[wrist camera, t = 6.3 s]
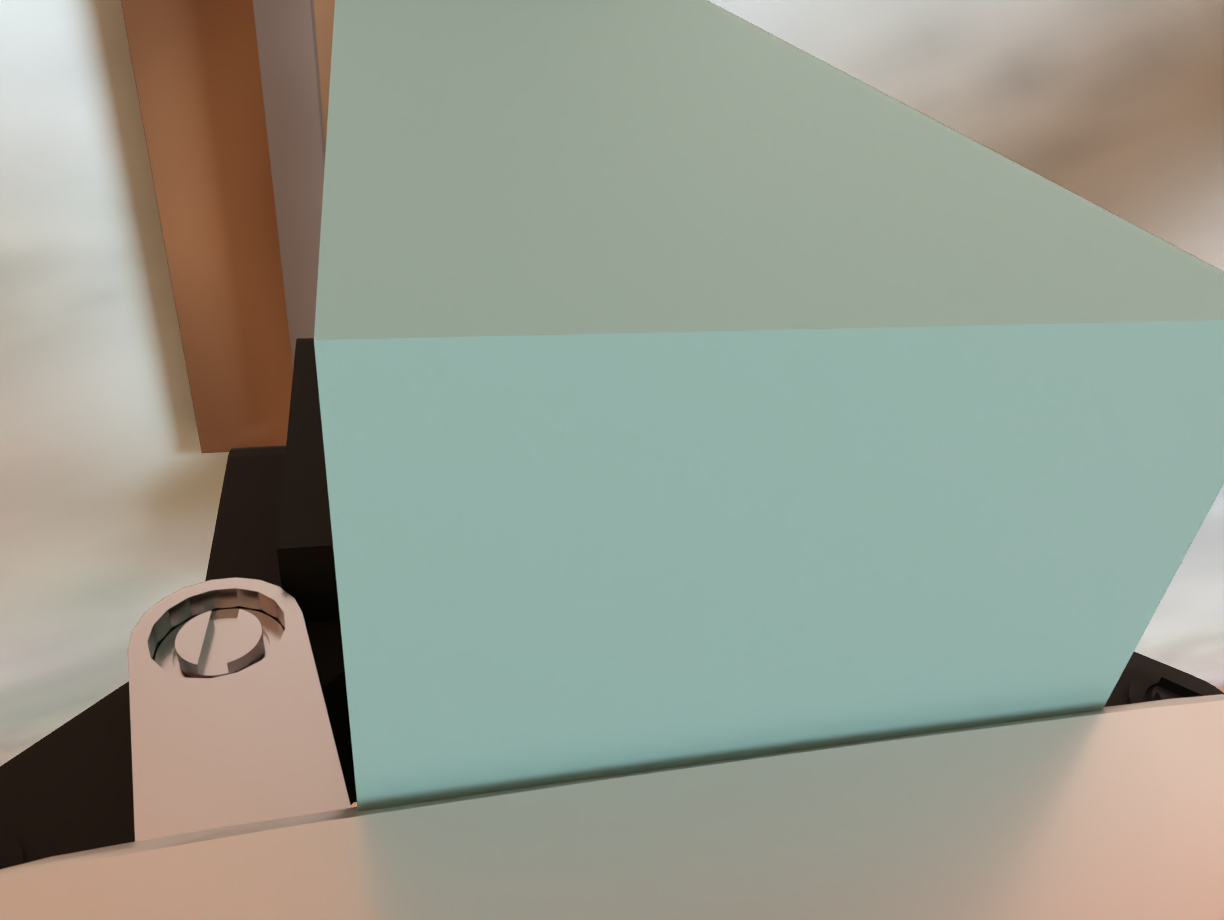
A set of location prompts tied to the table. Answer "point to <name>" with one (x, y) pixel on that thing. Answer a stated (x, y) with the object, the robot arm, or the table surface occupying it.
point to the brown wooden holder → (237, 193)
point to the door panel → (722, 403)
